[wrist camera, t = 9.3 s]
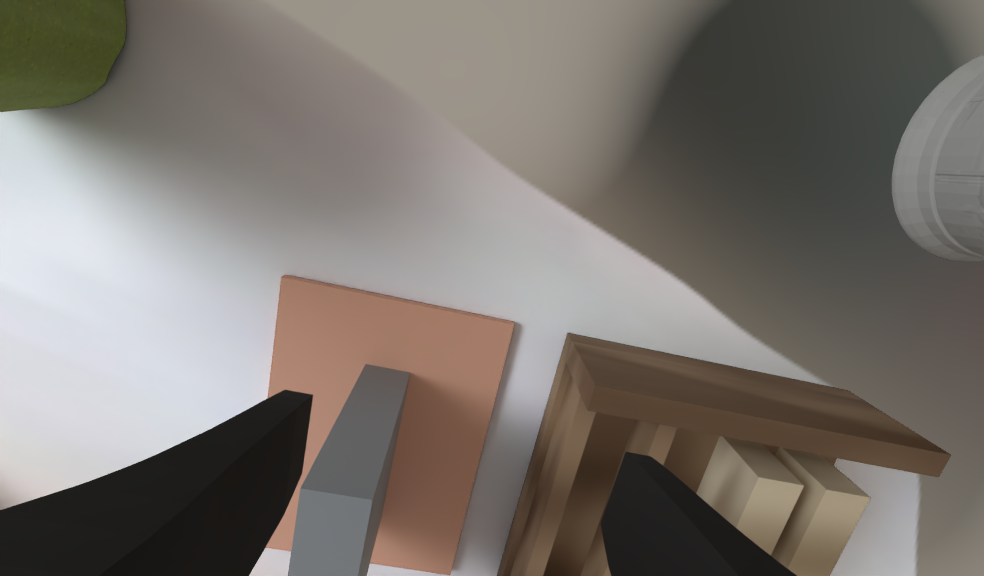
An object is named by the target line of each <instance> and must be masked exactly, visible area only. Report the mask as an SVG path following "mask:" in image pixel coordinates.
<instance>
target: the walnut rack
mask: <svg viewBox="0 0 984 576" xmlns="http://www.w3.org/2000/svg"><path fill="white" fill-rule="evenodd" d="M720 436H724V437H729V438H734V439H740V440H745V441H750V442H755V443H761V444H763V445H764V446H765V447H766V448H767V449H768V450H769V451H770V452H771V453H772V454H773V455H774V456H775V455H776V453H777V451H778V449H779V447H782V448H787V449H792V450H797V451H803V452H808V453H813V454H819V455H822V456H823V457H824V458H825V459H826V460H828V461H829V462H830V463H831V464H832V465H834V463H835V461H836V459H837V458H840V459H845V460H850V461H855V462H861V463H866V464H871V465H877V466H882V467H887V468H892V469H898V470H903V471H908V472H913V473H919V474H925V475H929V476H935V477H939V476H940V474H941V472H942V470H943V469H944V467H945V465H946V463H947V462H948V460H949V458H950V456H951V455H950V454H949V453H947V452H946V451H944V450H942V449H941V448H939V447H938V446H936V445H934V444H933V443H931V442H930V441H928V440H926V439H925V438H923V437H922V436H920V435H919V434H917V433H915V432H914V431H912V430H911V429H909V428H907V427H906V426H904V425H903V424H901V423H899V422H898V421H896V420H895V419H893V418H891V417H890V416H888V415H886V414H885V413H883V412H882V411H880V410H879V409H877V408H875V407H874V406H872V405H871V404H869V403H867V402H866V401H864V400H863V399H861V398H859V397H858V396H856V395H855V394H853V393H851V392H850V391H848V390H843V389H839V388H834V387H829V386H824V385H819V384H815V383H810V382H805V381H800V380H795V379H790V378H785V377H780V376H776V375H771V374H766V373H761V372H756V371H751V370H746V369H742V368H737V367H732V366H727V365H722V364H717V363H712V362H707V361H703V360H698V359H693V358H688V357H683V356H678V355H673V354H669V353H664V352H659V351H654V350H649V349H644V348H639V347H634V346H630V345H625V344H620V343H615V342H610V341H605V340H600V339H596V338H591V337H586V336H581V335H576V334H571V333H567V337H566V340H565V344H564V347H563V350H562V354H561V357H560V361H559V364H558V368H557V371H556V374H555V378H554V381H553V385H552V388H551V392H550V395H549V399H548V402H547V405H546V409H545V412H544V416H543V419H542V423H541V426H540V430H539V433H538V436H537V440H536V443H535V447H534V450H533V454H532V457H531V460H530V464H529V467H528V471H527V474H526V478H525V481H524V485H523V488H522V491H521V495H520V498H519V502H518V505H517V509H516V512H515V516H514V519H513V522H512V526H511V529H510V533H509V536H508V540H507V543H506V546H505V550H504V553H503V557H502V560H501V564H500V567H499V571H498V574H497V576H611V573H610V570H609V566H608V561H607V556H606V552H605V546H604V541H603V535H602V529H601V520H602V517H603V515H604V512H605V509H606V506H607V503H608V500H609V497H610V495H611V492H612V489H613V486H614V483H615V480H616V478H617V475H618V472H619V469H620V466H621V463H622V460H623V458H624V455H625V452H630V453H636V454H641V455H647V456H651V457H652V458H654V459H655V460H656V461H658V462H659V463H660V464H662V465H663V466H664V467H665V468H667V469H668V470H669V471H670V472H672V473H673V474H674V475H675V476H676V477H678V478H679V479H680V480H681V481H682V482H683V483H684V484H686V485H687V486H688V487H689V488H690V489H691V490H693V491H694V492H695V493H697V490H698V488H699V486H700V483H701V481H702V478H703V476H704V473H705V471H706V468H707V466H708V464H709V461H710V459H711V456H712V454H713V451H714V449H715V446H716V444H717V441H718V439H719V437H720Z"/></svg>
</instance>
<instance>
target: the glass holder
mask: <svg viewBox="0 0 984 576" xmlns="http://www.w3.org/2000/svg"><path fill="white" fill-rule="evenodd" d="M892 196H893V202H894V208H895V211H896V214H897V216H898V219H899V221H900V224H901V226H902V227H903V228H904V230H905V232H906V233H907V235H908V236H909V237H910V238H911V239H912V240H913V241H914V242H915V243H916V244H917V245H918V246H919V247H920V248H922V249H924V250H925V251H927V252H929V253H930V254H932V255H935V256H937V257H940V258H943V259H947V260H953V261H962V262H975V261H984V55H981V56H979V57H977V58H974V59H973V60H971V61H970V62H968V63H966V64H965V65H963V66H961V67H960V68H958V69H957V70H955V71H954V72H953V73H952V74H950V75H949V76H948V77H947V78H946V79H944V80H943V81H942V82H941V83H940V84H939V85H938V86H937V87H936V88H935V89H934V90H933V91H932V92H931V93H930V94H929V95H928V96H927V98H926V99H925V100H924V101H923V103H922V104H921V105H920V107H919V108H918V110H917V111H916V112H915V114H914V116H913V117H912V118H911V121H910V122H909V124H908V126H907V128H906V130H905V132H904V134H903V136H902V139H901V142H900V144H899V147H898V150H897V153H896V156H895V161H894V167H893V173H892Z"/></svg>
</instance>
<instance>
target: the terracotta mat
mask: <svg viewBox="0 0 984 576" xmlns="http://www.w3.org/2000/svg"><path fill="white" fill-rule="evenodd" d="M513 329H514V322H513V321H508V320H503V319H498V318H493V317H489V316H484V315H479V314H474V313H469V312H464V311H459V310H454V309H450V308H445V307H440V306H435V305H430V304H425V303H420V302H416V301H411V300H406V299H401V298H396V297H391V296H386V295H381V294H377V293H372V292H367V291H362V290H357V289H352V288H347V287H343V286H338V285H333V284H328V283H323V282H318V281H313V280H309V279H304V278H299V277H294V276H289V275H284V276H282V277H281V285H280V294H279V303H278V312H277V321H276V329H275V338H274V347H273V356H272V365H271V373H270V382H269V391H268V398H270V397H271V396H273V395H275V394H277V393H279V392H281V391H283V390H290V391H296V392H301V393H307V394H312V395H313V401H312V408H311V415H310V422H309V429H308V436H307V443H306V450H305V457H304V464H303V471H302V475H301V477H300V480H299V482H298V484H297V487H296V489H295V491H294V494H293V496H292V498H291V500H290V503H289V505H288V507H287V509H286V511H285V514H284V516H283V518H282V520H281V521H280V523H279V525H278V527H277V528H276V530H275V532H274V533H273V535H272V537H271V539H270V540H269V542H268V544H267V545H266V547H265V548H272V549H279V550H285V551H291V550H292V543H293V536H294V529H295V522H296V515H297V508H298V501H299V494H300V488H301V486H302V484H303V482H304V480H305V478H306V477H307V475H308V473H309V471H310V469H311V467H312V465H313V463H314V461H315V459H316V457H317V456H318V454H319V452H320V450H321V448H322V446H323V444H324V442H325V440H326V438H327V437H328V435H329V433H330V431H331V429H332V427H333V425H334V423H335V421H336V419H337V417H338V416H339V414H340V412H341V410H342V408H343V406H344V404H345V402H346V400H347V398H348V397H349V395H350V393H351V391H352V389H353V387H354V385H355V383H356V381H357V379H358V377H359V376H360V374H361V372H362V370H363V368H364V366H365V364H369V365H374V366H379V367H385V368H390V369H395V370H400V371H405V372H410V377H409V382H408V387H407V392H406V397H405V402H404V407H403V412H402V417H401V422H400V427H399V432H398V437H397V442H396V447H395V452H394V457H393V462H392V467H391V472H390V477H389V482H388V487H387V492H386V497H385V502H384V507H383V512H382V517H381V521H380V525H379V529H378V533H377V537H376V541H375V545H374V548H373V552H372V556H371V560H370V563H372V564H379V565H385V566H392V567H399V568H405V569H412V570H419V571H425V572H432V573H439V574H445V575H450V574H451V570H452V566H453V562H454V558H455V554H456V550H457V546H458V542H459V539H460V535H461V531H462V527H463V523H464V519H465V515H466V511H467V507H468V504H469V500H470V496H471V492H472V488H473V484H474V480H475V476H476V472H477V469H478V465H479V461H480V457H481V453H482V449H483V445H484V441H485V437H486V434H487V430H488V426H489V422H490V418H491V414H492V410H493V406H494V403H495V399H496V395H497V391H498V387H499V383H500V379H501V375H502V371H503V368H504V364H505V360H506V356H507V352H508V348H509V344H510V340H511V336H512V333H513Z"/></svg>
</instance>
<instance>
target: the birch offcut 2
mask: <svg viewBox="0 0 984 576" xmlns="http://www.w3.org/2000/svg"><path fill="white" fill-rule="evenodd" d="M775 457H776V458H777V459H778V460H779V461H780V462H781V463H782V464H783V465H784V466H785V467H786V468H787V469H788V470H789V471H790V472H791V473H792V474H793V475H794V476H795V477H796V478H797V479H798V480H799V481H800V482H801V483H802V484H803V485H804V487H803V489H802V491H801V493H800V495H799V497H798V500H797V502H796V504H795V506H794V508H793V510H792V512H791V514H790V516H789V518H788V520H787V523H786V525H785V527H784V529H783V531H782V533H781V535H780V537H779V539H778V541H777V543H776V545H775V548H774V550H773V552H772V554H771V556H772V557H773V558H774V559H776V560H777V561H778V562H779V563H781V564H782V565H783V566H785V567H786V568H787V569H789V570H790V571H791V572H793V573H794V574H795V575H797V576H830V574H831V572H832V570H833V568H834V566H835V565H836V563H837V561H838V559H839V557H840V555H841V553H842V551H843V549H844V547H845V546H846V544H847V542H848V540H849V538H850V536H851V534H852V532H853V530H854V528H855V527H856V525H857V523H858V521H859V519H860V517H861V515H862V513H863V511H864V510H865V508H866V506H867V504H868V502H869V500H870V497H869V496H868V495H867V494H866V493H865V492H864V491H862V490H861V489H860V488H859V487H858V486H857V485H855V484H854V483H853V482H852V481H851V480H850V479H848V478H847V477H846V476H845V475H844V474H843V473H841V472H840V471H839V470H838V469H837V468H836V467H835V466H833V465H832V464H831V463H830V462H829V461H828V460H826V459H825V458H824V457H823V456H822V455H819V454H813V453H808V452H803V451H797V450H792V449H787V448H782V447H779V449H778V451H777V453H776V455H775Z"/></svg>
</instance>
